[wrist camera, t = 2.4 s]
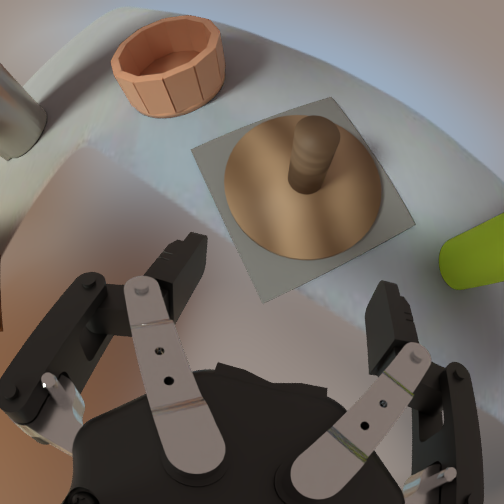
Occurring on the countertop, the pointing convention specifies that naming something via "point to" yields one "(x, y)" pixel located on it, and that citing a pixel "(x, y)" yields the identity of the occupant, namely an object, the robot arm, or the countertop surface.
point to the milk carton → (0, 326)
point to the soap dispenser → (474, 256)
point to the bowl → (171, 66)
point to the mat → (281, 268)
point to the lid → (302, 187)
